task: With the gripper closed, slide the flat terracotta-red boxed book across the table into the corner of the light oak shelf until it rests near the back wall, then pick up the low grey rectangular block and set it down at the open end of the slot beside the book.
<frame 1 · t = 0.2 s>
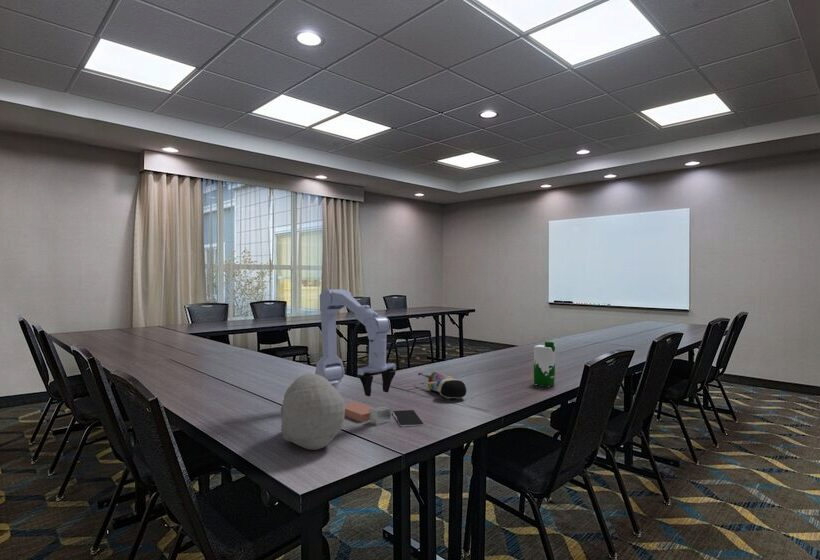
hand: (376, 393, 144), 10 cm above the table, tool pointing down, fingers open, 7 cm apart
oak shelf: (331, 421, 145), on the table
smartphone: (407, 421, 149), on the table
toy: (443, 393, 185), on the table
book: (358, 416, 153), on the table
grey rectangular block: (379, 422, 146), on the table
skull: (308, 441, 128), on the table
milk carton: (544, 385, 201), on the table
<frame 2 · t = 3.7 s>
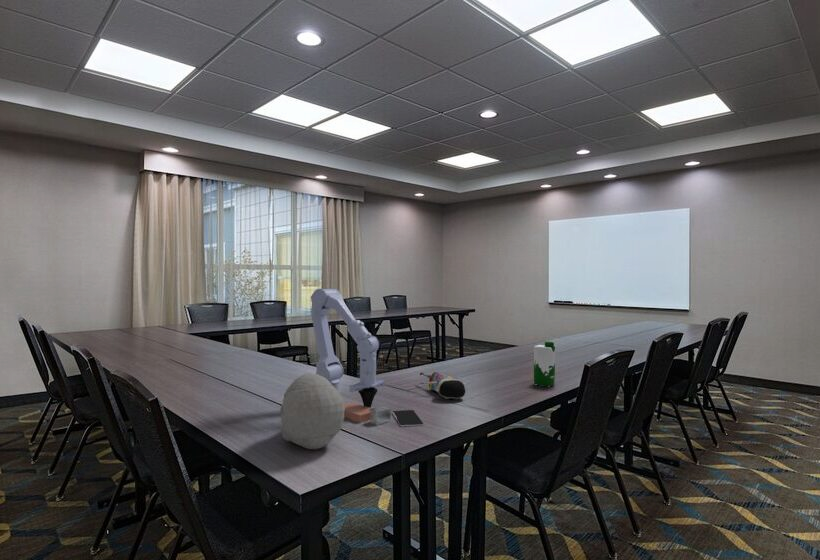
hand: (367, 408, 155), 1 cm above the table, tool pointing down, fingers closed
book: (355, 416, 152), on the table, touching gripper
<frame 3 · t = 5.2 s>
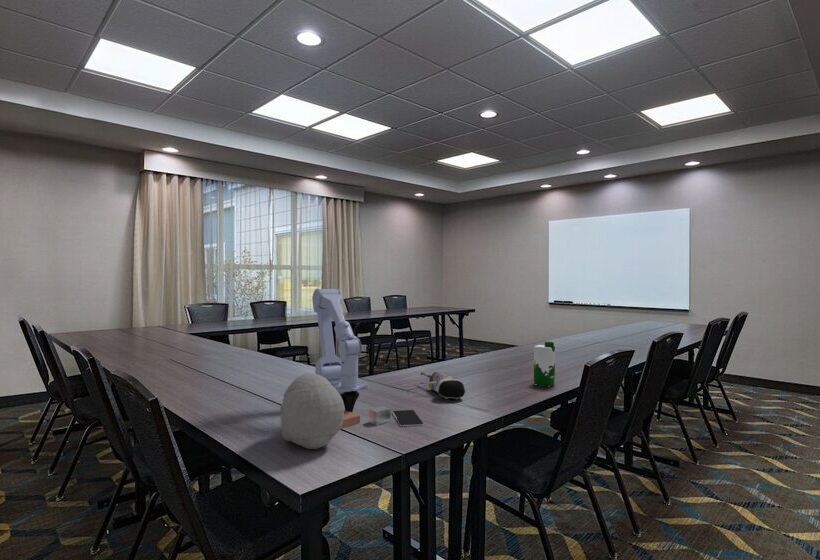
hand: (349, 413, 150), 1 cm above the table, tool pointing down, fingers closed
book: (337, 422, 146), on the table
everything else where it was.
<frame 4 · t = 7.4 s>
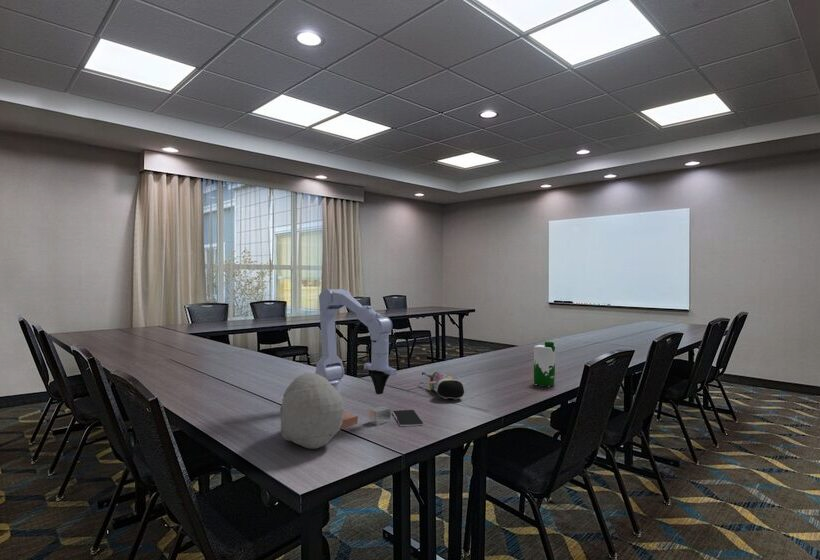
hand: (379, 393, 146), 9 cm above the table, tool pointing down, fingers closed
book: (334, 423, 145), on the table
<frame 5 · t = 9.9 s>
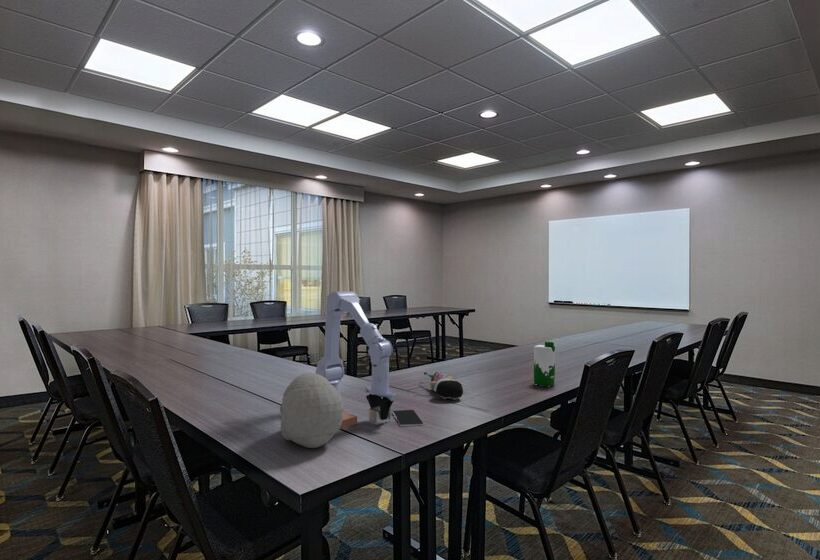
hand: (379, 417, 146), 1 cm above the table, tool pointing down, fingers closed on grey rectangular block, 4 cm apart
grey rectangular block: (379, 421, 146), on the table, touching gripper
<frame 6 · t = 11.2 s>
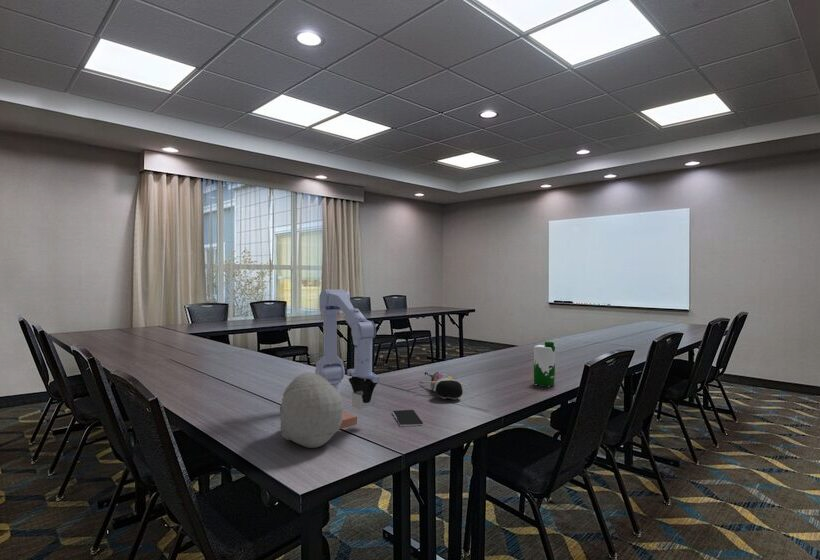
hand: (362, 400, 140), 8 cm above the table, tool pointing down, fingers closed on grey rectangular block, 4 cm apart
grey rectangular block: (363, 406, 140), point 7 cm above the table, touching gripper
when the fingers open (3 cm above the table, at t = 12.9 s): grey rectangular block drops 1 cm, on the table.
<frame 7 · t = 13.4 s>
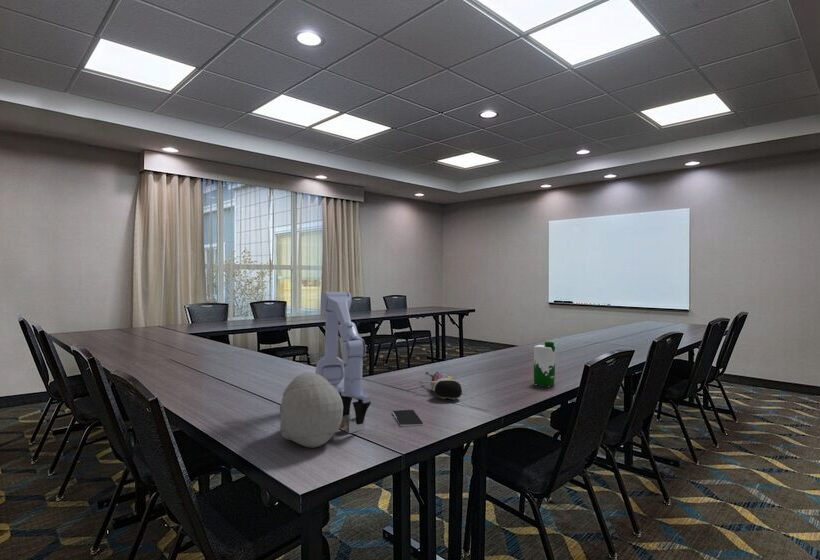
hand: (352, 420, 137), 3 cm above the table, tool pointing down, fingers open, 7 cm apart
grey rectangular block: (353, 430, 138), on the table
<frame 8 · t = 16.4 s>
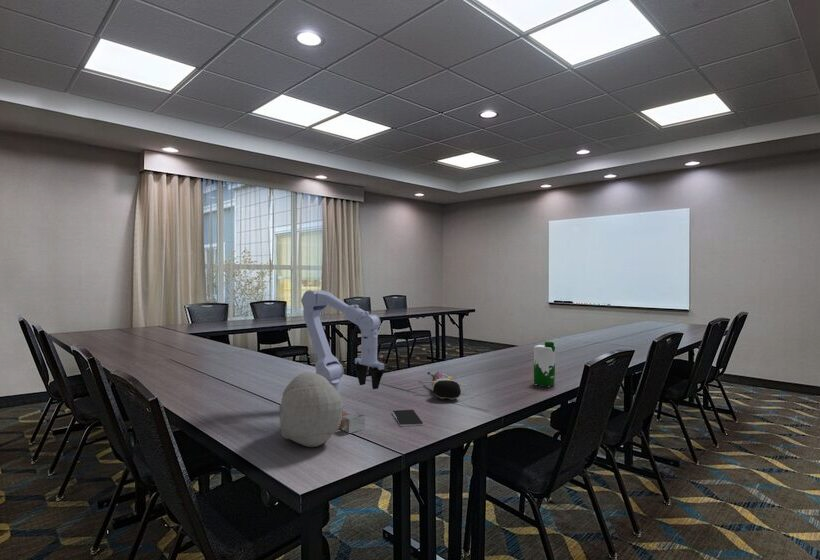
hand: (368, 386, 155), 9 cm above the table, tool pointing down, fingers open, 7 cm apart
at the end: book inside the target area (0.7 cm from its centre), on the table; grey rectangular block inside the target area (0.4 cm from its centre), on the table; grey rectangular block tilted 0° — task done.
